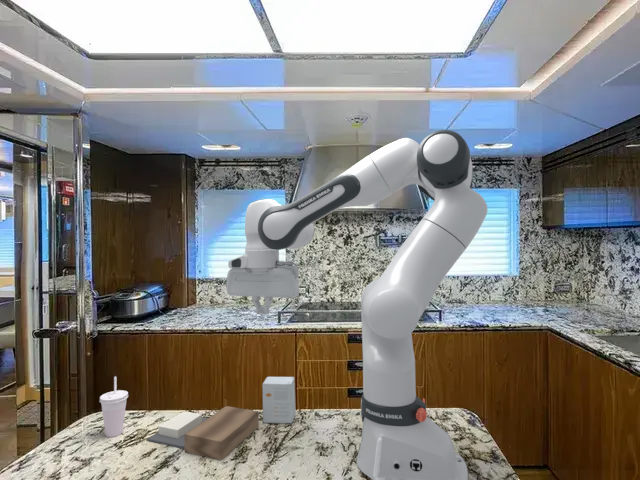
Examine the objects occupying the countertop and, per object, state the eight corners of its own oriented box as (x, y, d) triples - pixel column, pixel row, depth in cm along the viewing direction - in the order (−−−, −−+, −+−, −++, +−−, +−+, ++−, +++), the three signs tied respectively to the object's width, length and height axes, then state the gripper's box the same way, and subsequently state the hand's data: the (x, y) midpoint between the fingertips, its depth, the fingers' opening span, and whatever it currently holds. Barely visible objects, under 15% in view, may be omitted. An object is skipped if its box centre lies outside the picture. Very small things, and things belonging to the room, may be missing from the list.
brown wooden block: (258, 426, 96) (258, 411, 96) (221, 460, 81) (221, 441, 81) (226, 421, 99) (225, 406, 99) (184, 451, 84) (184, 434, 84)
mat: (223, 422, 98) (223, 420, 98) (187, 449, 85) (187, 447, 85) (187, 416, 103) (187, 414, 103) (147, 440, 90) (147, 438, 90)
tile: (183, 411, 100) (183, 418, 100) (158, 426, 92) (158, 434, 92) (202, 414, 98) (202, 421, 98) (177, 430, 90) (177, 438, 89)
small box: (295, 414, 103) (295, 376, 103) (292, 424, 97) (291, 383, 97) (267, 413, 104) (267, 375, 104) (262, 423, 98) (262, 383, 98)
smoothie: (133, 427, 97) (132, 373, 97) (120, 439, 90) (120, 381, 91) (108, 427, 96) (108, 373, 97) (93, 440, 90) (93, 382, 90)
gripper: (303, 260, 97) (303, 313, 96) (236, 260, 104) (236, 310, 104) (293, 261, 91) (293, 318, 90) (223, 261, 98) (223, 313, 98)
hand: (262, 313), depth 97 cm, fingers closed
